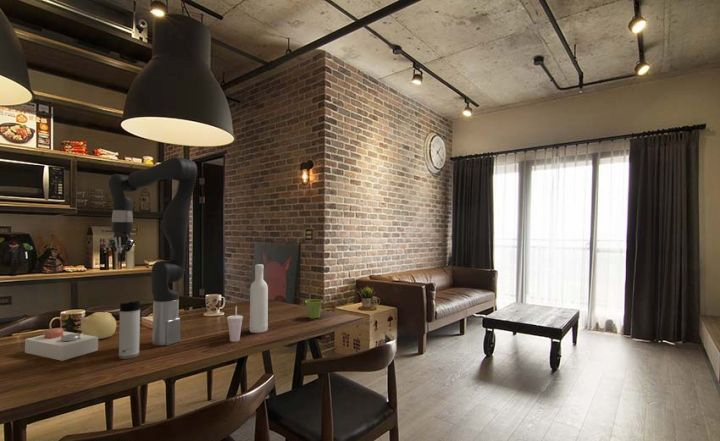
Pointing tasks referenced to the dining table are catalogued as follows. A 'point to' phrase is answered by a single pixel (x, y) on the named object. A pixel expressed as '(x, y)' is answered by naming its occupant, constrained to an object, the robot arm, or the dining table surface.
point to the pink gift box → (53, 333)
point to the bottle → (258, 302)
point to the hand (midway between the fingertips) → (121, 261)
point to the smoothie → (234, 326)
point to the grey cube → (70, 337)
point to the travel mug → (129, 330)
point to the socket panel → (61, 346)
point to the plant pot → (314, 308)
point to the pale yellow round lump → (99, 325)
